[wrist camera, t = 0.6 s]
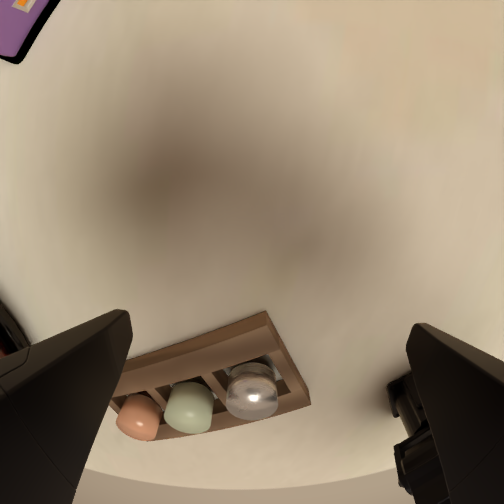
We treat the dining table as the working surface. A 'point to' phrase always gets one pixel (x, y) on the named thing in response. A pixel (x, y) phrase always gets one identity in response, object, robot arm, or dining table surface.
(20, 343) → the amphora vase
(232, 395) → the grey button
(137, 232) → the dining table surface
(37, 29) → the dollhouse room
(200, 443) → the dining table surface
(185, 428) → the sage button
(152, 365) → the button panel
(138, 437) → the terracotta button
